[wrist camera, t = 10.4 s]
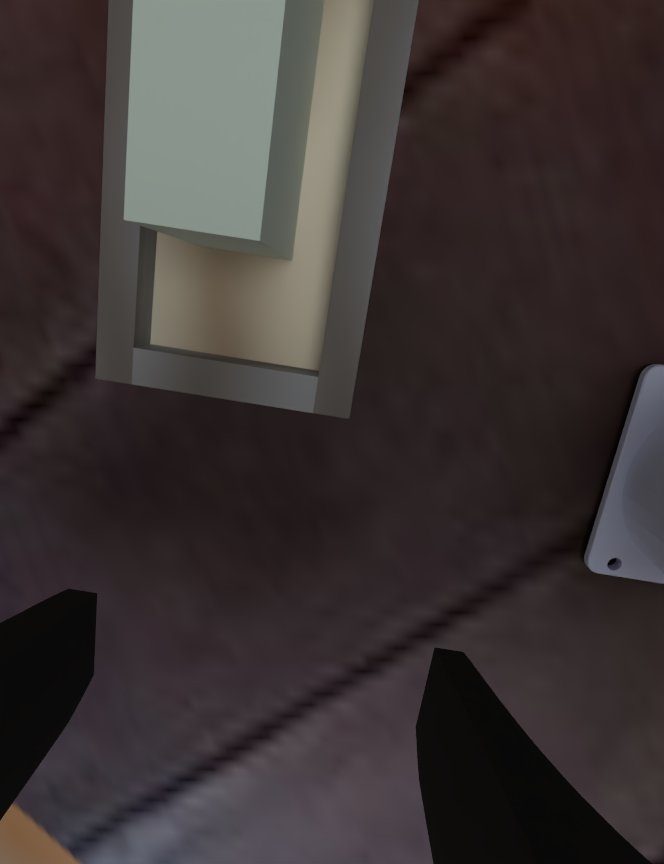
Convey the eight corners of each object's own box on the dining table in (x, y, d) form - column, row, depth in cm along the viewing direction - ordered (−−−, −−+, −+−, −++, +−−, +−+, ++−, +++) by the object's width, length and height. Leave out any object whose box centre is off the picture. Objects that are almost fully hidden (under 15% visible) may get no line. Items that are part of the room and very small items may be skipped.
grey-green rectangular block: (332, -67, 15) (318, -306, 9) (292, 260, 17) (260, 241, 11) (229, -83, 15) (147, -331, 9) (202, 246, 17) (123, 219, 11)
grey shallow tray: (456, -238, 14) (473, -332, 12) (349, 405, 19) (349, 418, 17) (157, -285, 14) (122, -386, 12) (124, 369, 19) (95, 378, 17)
